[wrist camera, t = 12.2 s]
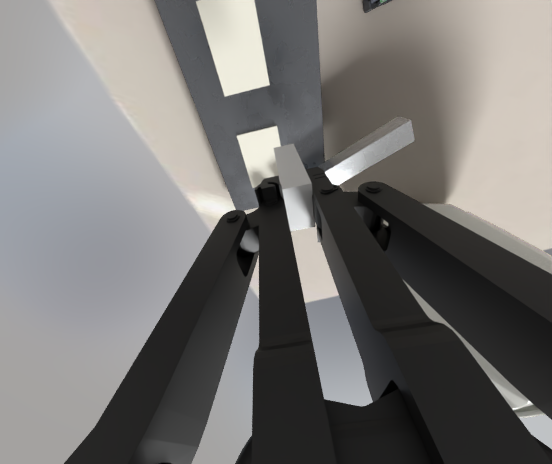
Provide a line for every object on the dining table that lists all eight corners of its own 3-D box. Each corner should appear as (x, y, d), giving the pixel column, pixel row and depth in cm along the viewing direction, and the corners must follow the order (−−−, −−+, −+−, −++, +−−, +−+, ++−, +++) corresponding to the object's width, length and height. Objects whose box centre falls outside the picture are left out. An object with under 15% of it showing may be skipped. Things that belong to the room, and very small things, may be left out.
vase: (347, 209, 36) (477, 402, 15) (463, 165, 33) (860, 337, 11) (361, 272, 48) (446, 432, 26) (449, 245, 44) (631, 405, 23)
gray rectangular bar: (271, 212, 30) (272, 224, 28) (261, 200, 29) (262, 212, 26) (400, 135, 25) (417, 141, 22) (396, 115, 23) (413, 120, 21)
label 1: (196, 2, 18) (195, 1, 17) (251, -14, 17) (251, -16, 17) (225, 96, 22) (224, 96, 22) (269, 84, 22) (269, 84, 21)
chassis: (159, -15, 19) (138, -35, 16) (303, -59, 18) (314, -90, 15) (238, 200, 34) (236, 214, 30) (320, 182, 33) (327, 195, 29)
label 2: (236, 135, 24) (236, 135, 24) (276, 125, 24) (277, 125, 24) (252, 186, 29) (252, 188, 28) (286, 179, 28) (286, 180, 28)
